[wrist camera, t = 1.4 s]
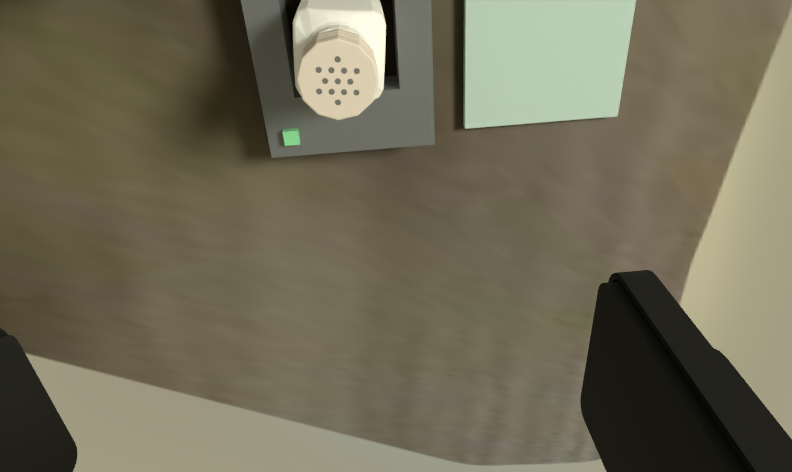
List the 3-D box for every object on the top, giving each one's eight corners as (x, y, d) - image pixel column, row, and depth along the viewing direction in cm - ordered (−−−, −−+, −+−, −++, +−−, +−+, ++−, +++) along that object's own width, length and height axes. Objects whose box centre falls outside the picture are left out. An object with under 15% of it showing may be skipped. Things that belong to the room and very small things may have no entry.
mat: (464, -115, 27) (466, -115, 26) (650, -128, 27) (656, -128, 26) (463, 124, 33) (464, 128, 32) (613, 112, 33) (617, 116, 33)
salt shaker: (378, 66, 31) (386, 131, 23) (305, 64, 31) (288, 129, 23) (381, -12, 29) (391, 29, 21) (302, -15, 28) (282, 25, 20)
